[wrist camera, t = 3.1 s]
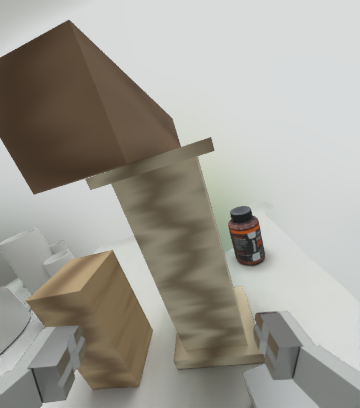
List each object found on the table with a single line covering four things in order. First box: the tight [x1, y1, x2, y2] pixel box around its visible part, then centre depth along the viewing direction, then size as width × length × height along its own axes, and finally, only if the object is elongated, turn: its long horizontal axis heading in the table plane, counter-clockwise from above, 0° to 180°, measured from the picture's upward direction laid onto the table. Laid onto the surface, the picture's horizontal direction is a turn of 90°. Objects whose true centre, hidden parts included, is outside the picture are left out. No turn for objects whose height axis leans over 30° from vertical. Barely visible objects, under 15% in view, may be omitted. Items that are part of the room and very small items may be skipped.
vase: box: [0, 227, 75, 295], centre depth 36 cm, size 11×7×20 cm, turn 90°
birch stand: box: [86, 137, 265, 369], centre depth 22 cm, size 11×10×26 cm
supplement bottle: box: [228, 206, 265, 265], centre depth 36 cm, size 6×6×11 cm
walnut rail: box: [0, 20, 181, 194], centre depth 15 cm, size 4×20×4 cm, turn 172°
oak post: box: [26, 250, 153, 389], centre depth 23 cm, size 7×7×16 cm
